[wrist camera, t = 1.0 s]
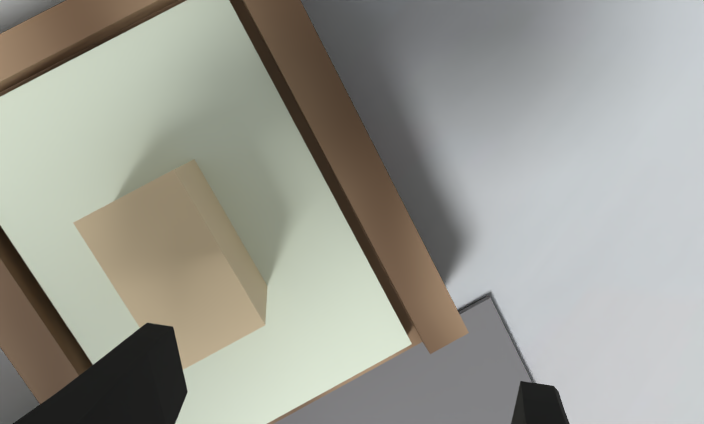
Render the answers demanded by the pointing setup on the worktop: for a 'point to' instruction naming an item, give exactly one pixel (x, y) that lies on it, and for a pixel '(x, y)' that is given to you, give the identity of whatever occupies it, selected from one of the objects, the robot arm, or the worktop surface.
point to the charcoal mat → (433, 382)
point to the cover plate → (247, 168)
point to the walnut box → (317, 132)
